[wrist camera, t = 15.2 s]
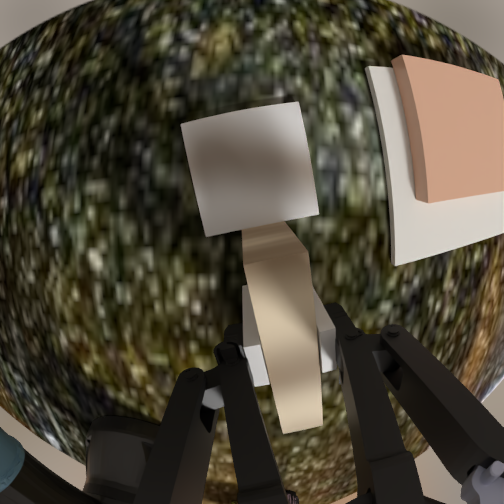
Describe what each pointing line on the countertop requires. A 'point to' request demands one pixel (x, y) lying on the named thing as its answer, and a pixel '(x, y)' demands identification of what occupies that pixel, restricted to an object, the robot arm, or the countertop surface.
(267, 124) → the scraper
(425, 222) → the mat
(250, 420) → the robot arm
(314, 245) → the countertop surface
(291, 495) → the decorative flower
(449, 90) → the tile
